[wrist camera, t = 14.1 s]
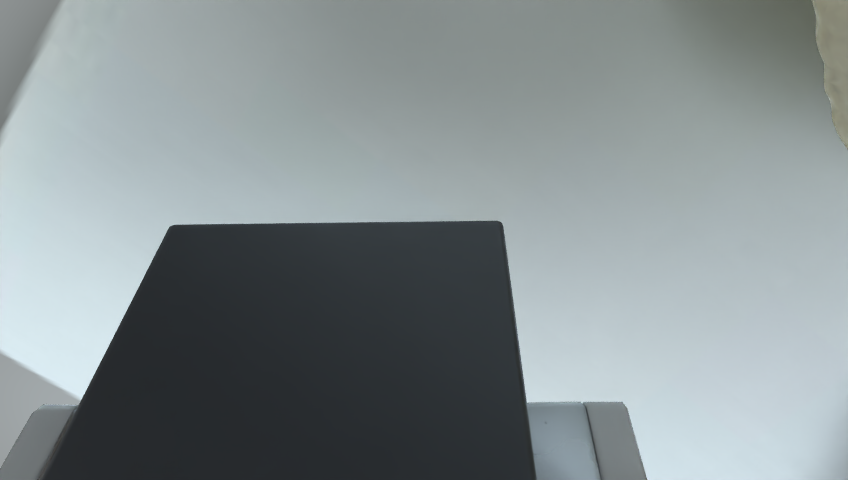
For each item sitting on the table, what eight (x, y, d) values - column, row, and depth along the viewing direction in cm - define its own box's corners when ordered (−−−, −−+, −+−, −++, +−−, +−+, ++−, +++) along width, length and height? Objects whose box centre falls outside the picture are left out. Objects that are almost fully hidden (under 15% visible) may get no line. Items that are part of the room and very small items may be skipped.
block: (168, 222, 10) (17, 518, 6) (503, 218, 10) (542, 517, 6) (227, 440, 13) (143, 739, 9) (492, 438, 13) (515, 740, 9)
